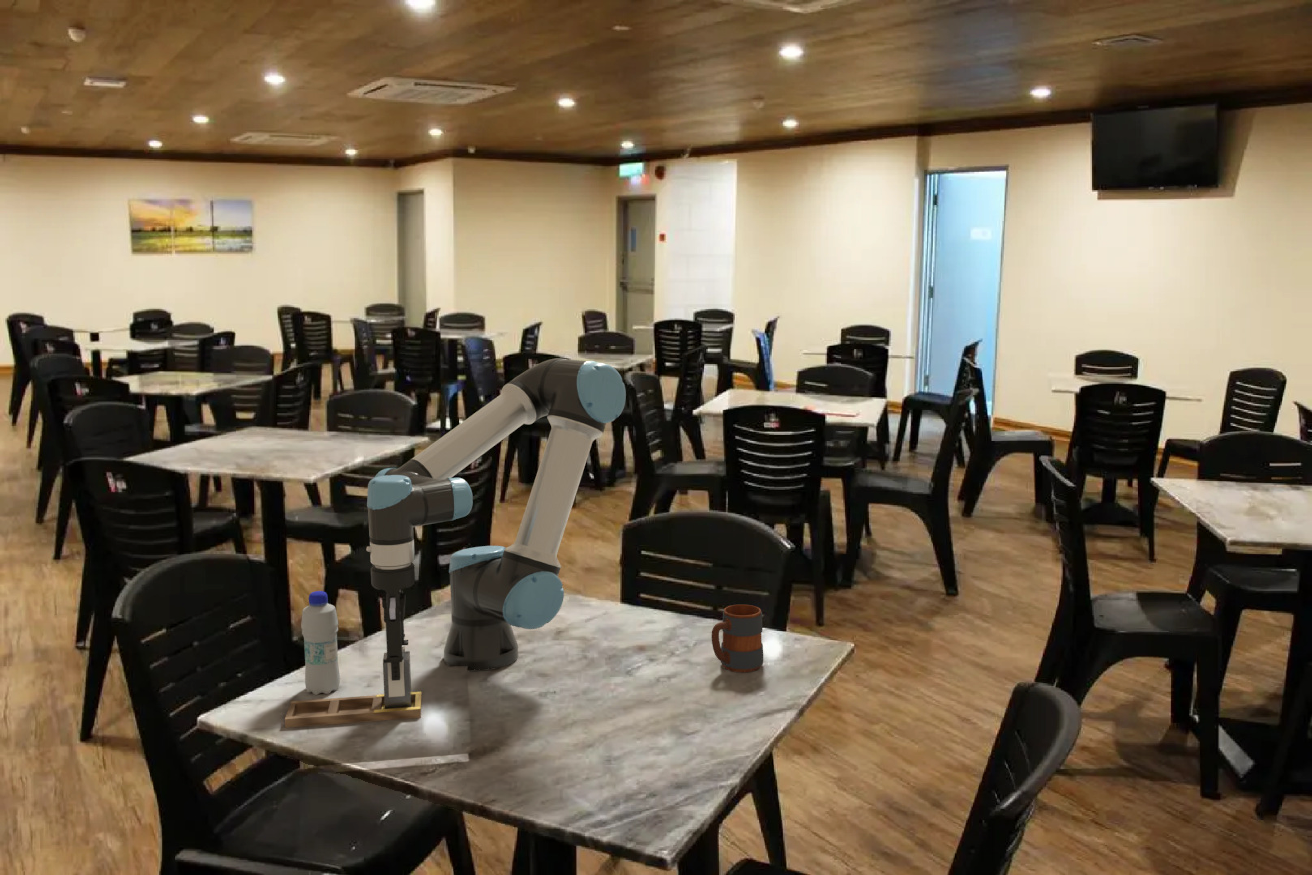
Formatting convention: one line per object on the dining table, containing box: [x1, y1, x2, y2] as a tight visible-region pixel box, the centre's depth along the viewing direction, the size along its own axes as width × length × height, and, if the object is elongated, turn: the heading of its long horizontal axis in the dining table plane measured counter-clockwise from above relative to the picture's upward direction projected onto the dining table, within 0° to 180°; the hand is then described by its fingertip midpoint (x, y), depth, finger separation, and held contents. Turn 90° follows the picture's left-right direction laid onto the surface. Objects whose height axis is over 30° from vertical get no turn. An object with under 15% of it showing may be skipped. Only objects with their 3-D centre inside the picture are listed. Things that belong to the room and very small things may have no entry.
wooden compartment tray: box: [284, 691, 423, 728], centre depth 198 cm, size 23×8×3 cm, turn 101°
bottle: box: [300, 590, 341, 696], centre depth 208 cm, size 7×7×20 cm
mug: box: [711, 604, 764, 674], centre depth 221 cm, size 9×12×12 cm
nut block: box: [382, 650, 412, 709], centre depth 198 cm, size 4×4×10 cm
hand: (397, 688), depth 198 cm, fingers open, 6 cm apart
